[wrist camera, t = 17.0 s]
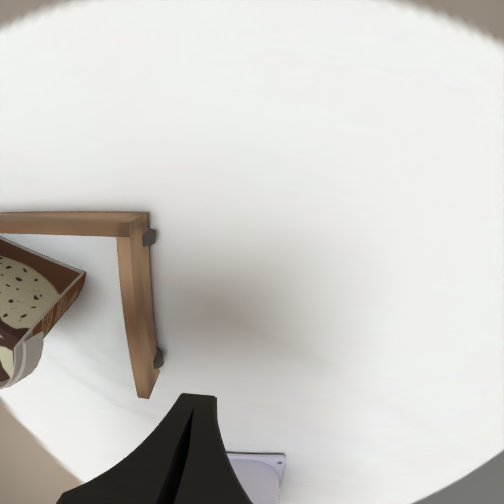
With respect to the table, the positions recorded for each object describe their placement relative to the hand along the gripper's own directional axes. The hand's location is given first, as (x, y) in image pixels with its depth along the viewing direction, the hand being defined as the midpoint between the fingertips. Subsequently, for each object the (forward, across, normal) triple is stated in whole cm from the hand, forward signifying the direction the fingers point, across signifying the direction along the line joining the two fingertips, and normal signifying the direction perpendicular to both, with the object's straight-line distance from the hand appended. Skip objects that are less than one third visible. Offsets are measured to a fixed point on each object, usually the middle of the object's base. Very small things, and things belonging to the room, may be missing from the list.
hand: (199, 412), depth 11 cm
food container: (+11, +15, 0) cm, 19 cm away
